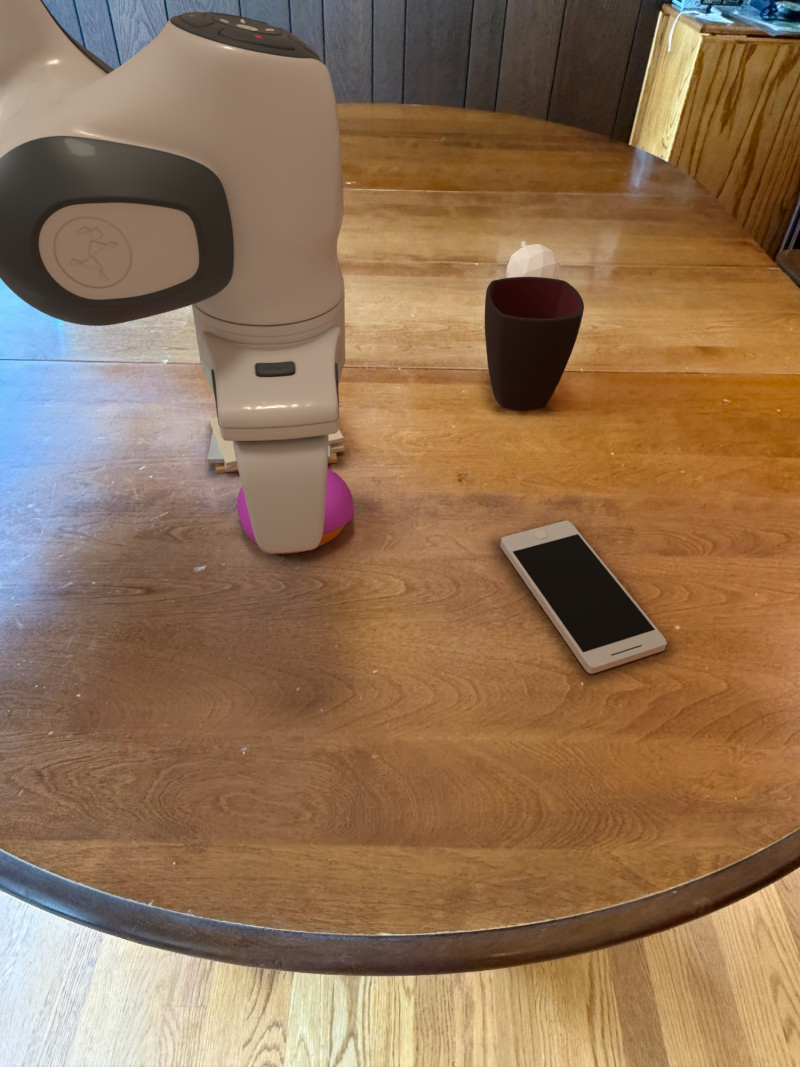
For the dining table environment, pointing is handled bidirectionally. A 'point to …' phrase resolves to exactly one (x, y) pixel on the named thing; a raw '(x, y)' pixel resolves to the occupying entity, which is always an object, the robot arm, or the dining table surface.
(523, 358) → the cup
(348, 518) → the donut
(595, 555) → the smartphone
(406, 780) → the dining table surface
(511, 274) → the ornament
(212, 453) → the letter pile
